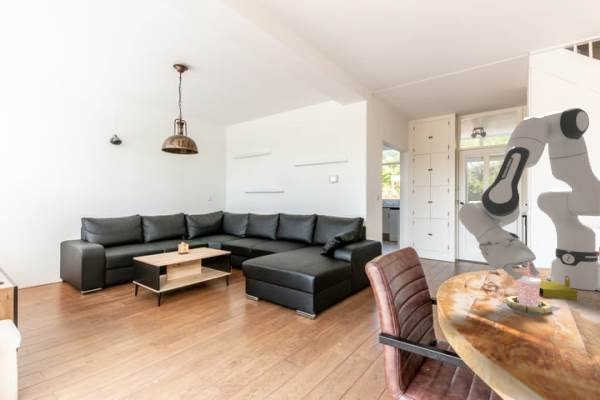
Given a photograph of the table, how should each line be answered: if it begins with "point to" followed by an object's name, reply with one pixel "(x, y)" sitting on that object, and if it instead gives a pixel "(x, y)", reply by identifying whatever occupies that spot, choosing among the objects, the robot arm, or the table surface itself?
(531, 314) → the board
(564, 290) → the bracket
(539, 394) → the table surface
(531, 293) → the beverage cup
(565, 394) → the table surface
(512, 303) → the socket
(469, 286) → the table surface
